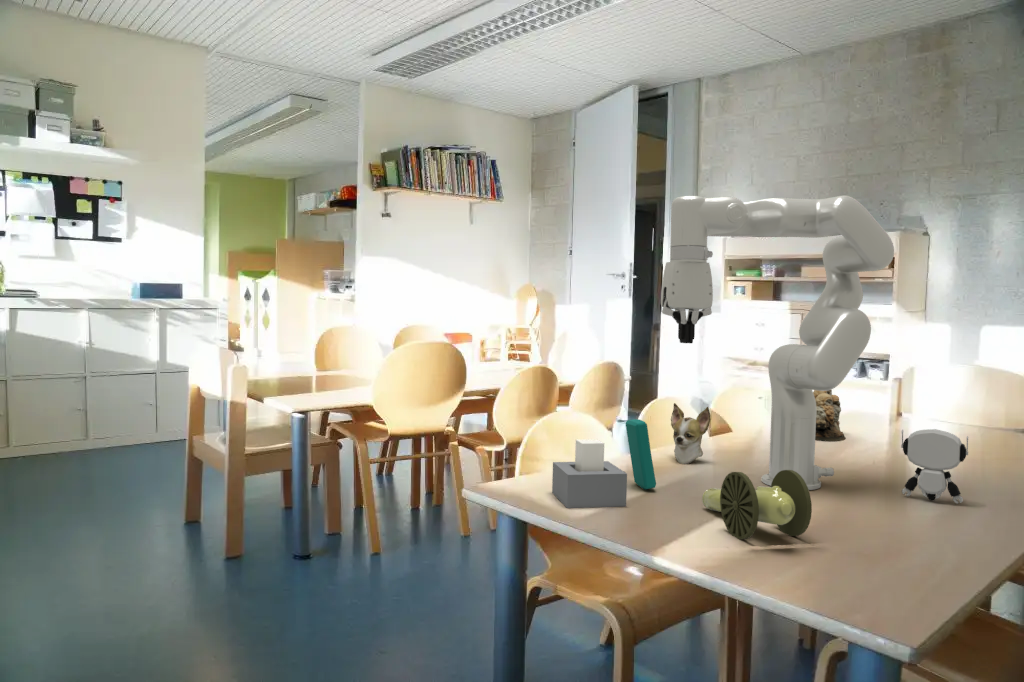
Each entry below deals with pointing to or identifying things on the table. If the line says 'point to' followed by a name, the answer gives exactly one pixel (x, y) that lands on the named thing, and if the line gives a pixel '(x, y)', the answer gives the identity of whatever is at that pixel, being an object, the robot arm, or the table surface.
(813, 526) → the table surface
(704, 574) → the table surface
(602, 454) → the plug
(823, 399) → the brown rough lump
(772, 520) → the cannon
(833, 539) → the table surface
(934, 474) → the robot toy
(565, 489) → the socket
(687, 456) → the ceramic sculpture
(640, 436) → the digital multimeter
